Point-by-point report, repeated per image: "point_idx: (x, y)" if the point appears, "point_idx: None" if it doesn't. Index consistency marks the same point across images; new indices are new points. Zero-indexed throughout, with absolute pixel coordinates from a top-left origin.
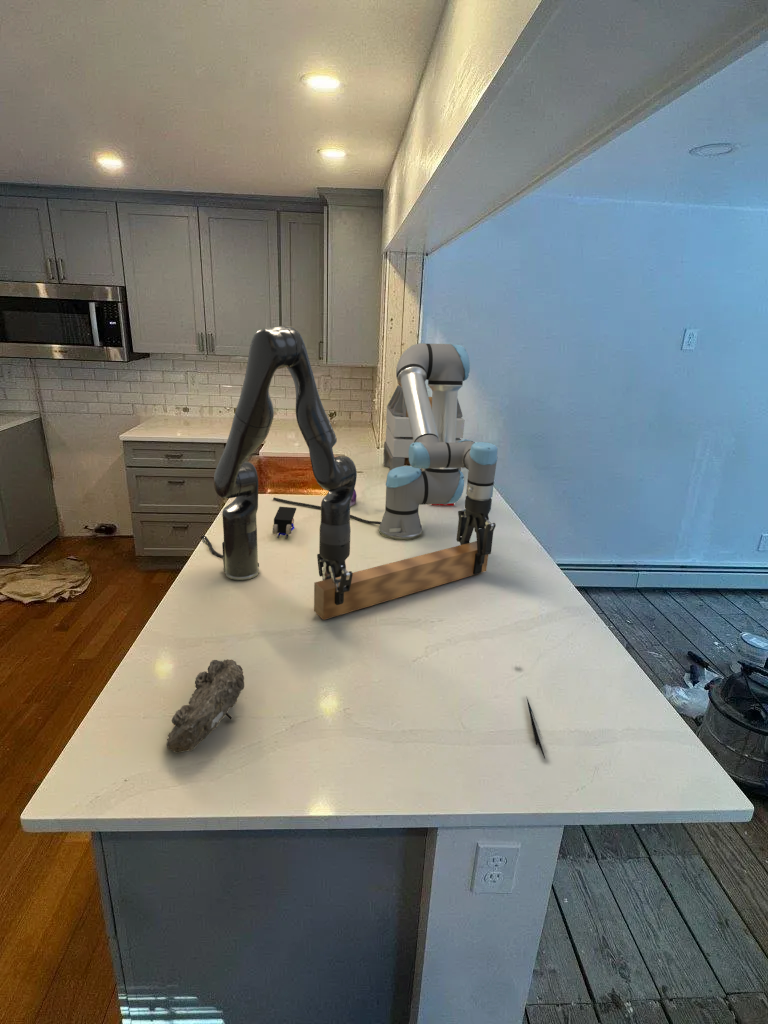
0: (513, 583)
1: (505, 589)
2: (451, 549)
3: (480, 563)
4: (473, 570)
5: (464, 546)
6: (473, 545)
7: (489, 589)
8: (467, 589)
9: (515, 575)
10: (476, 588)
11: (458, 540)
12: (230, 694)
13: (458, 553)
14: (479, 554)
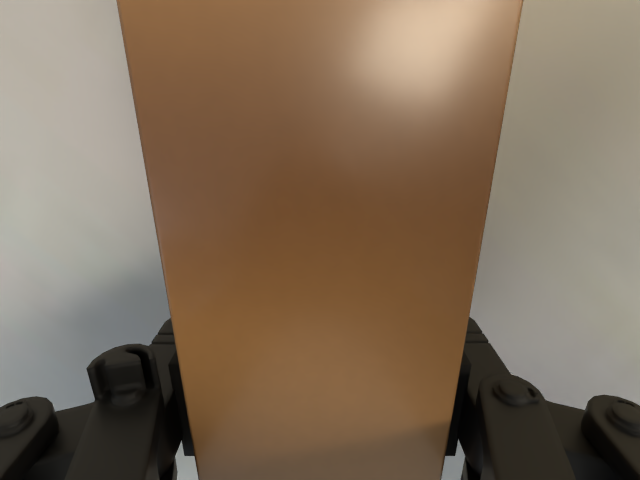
0: (93, 393)
1: (34, 307)
2: (426, 38)
3: (164, 323)
4: None
5: (384, 356)
6: (337, 474)
7: (64, 219)
8: (117, 67)
9: (177, 458)
10: (109, 146)
11: (604, 416)
12: None
13: (177, 34)
14: (95, 376)
